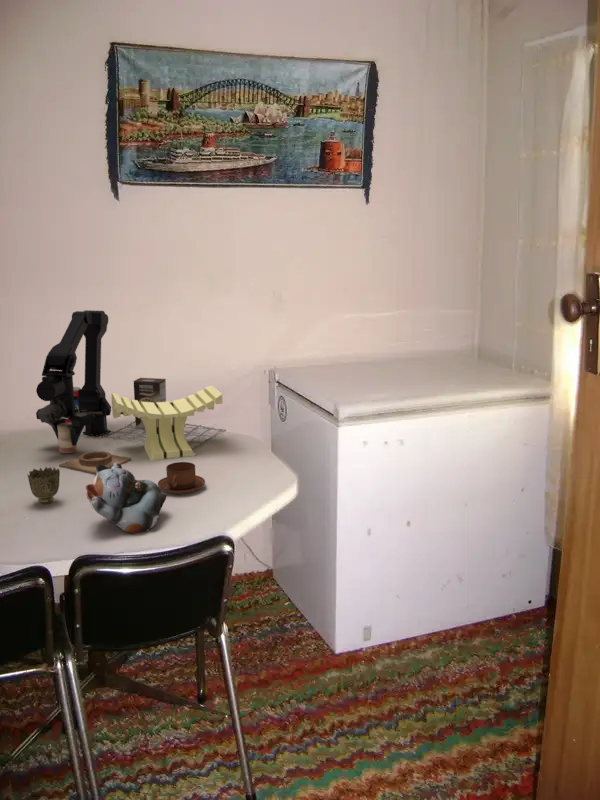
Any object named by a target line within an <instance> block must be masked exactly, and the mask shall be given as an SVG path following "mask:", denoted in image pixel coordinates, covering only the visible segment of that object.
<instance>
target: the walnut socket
mask: <svg viewBox="0 0 600 800" xmlns="http://www.w3.org/2000/svg"><path fill="white" fill-rule="evenodd" d="M131 461H132V458H131V457H126V456H121V455H120V456H119V455H116V454H112V453H110V452H108V451H101V450H99V451H97V450H95V451H88V452H85V453H82V454H81V455H79V456H78V457H76V458H73V459H71V460H68V461H67V460H66V461H65V462H63V463H59V465H58V466H59V467H60V468H65V469H69V470H74V471H77V472H83V473H88V474H90V475H91V474H92V475H95V474H96V466H97V465H103V466H106V467H108V468H112V467H113V465H114V463H120V465H121V466H122V465H123V464H124V465H125V464H126V463H129V462H131Z"/></svg>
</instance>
